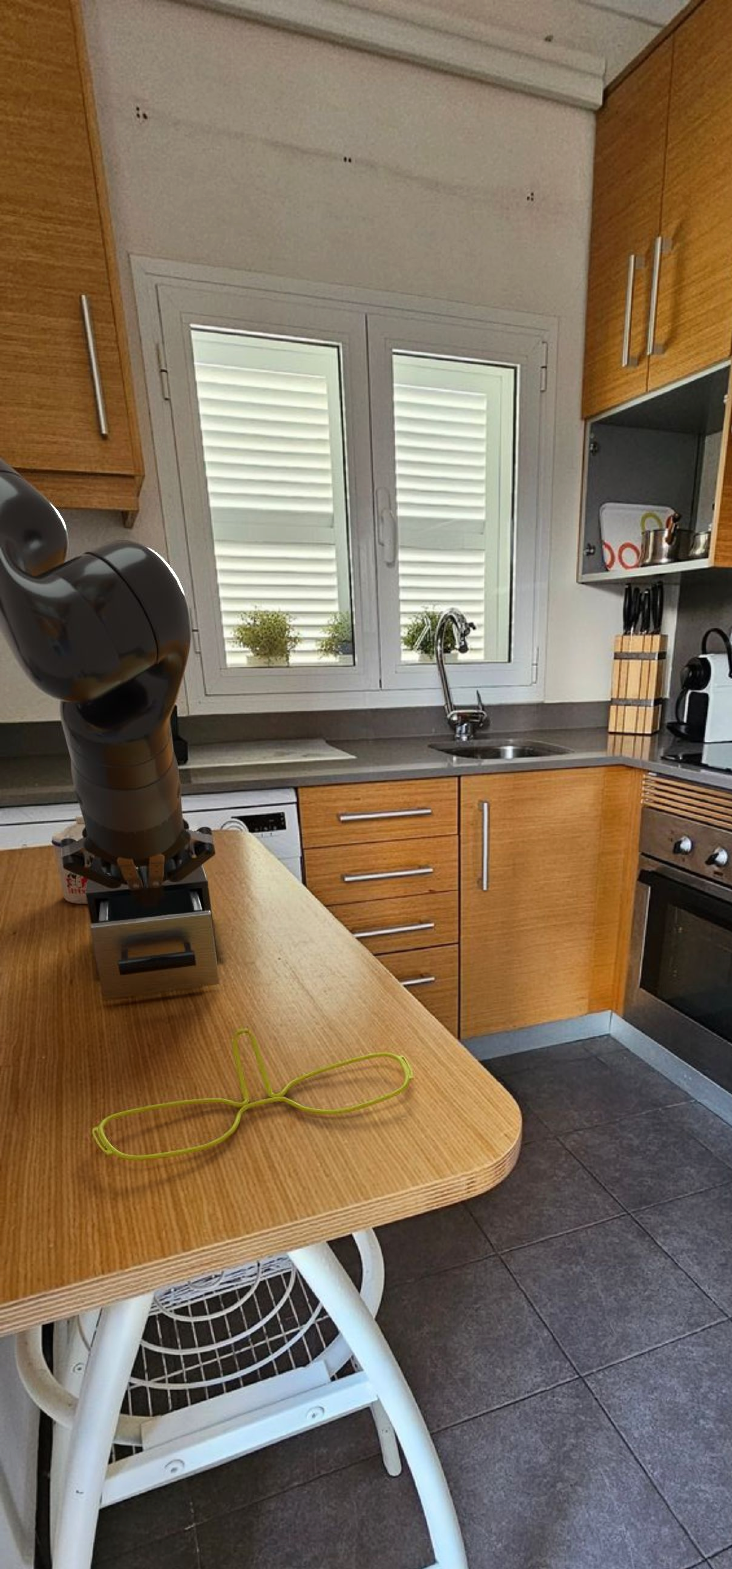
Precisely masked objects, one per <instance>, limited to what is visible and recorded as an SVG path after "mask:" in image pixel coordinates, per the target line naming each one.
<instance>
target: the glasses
mask: <svg viewBox="0 0 732 1569" xmlns="http://www.w3.org/2000/svg"><path fill="white" fill-rule="evenodd" d="M242 1034H248V1035H249V1038H250V1041H251V1045H252V1048H253V1052H254V1055H255V1058H256V1062H257V1066H258V1069H259V1071H260V1075H261V1078H262V1081H263V1084H264V1087H265V1091H266V1093H267V1095H268V1097H270V1098H264V1099H260V1100H257V1101H254V1102H251V1103H250V1097H249V1092H248V1088H247V1084H246V1081H245V1076H244V1072H243V1068H242V1063H241V1058H240V1052H239V1047H238V1046H239V1045H238V1036H240V1035H242ZM232 1053H233V1058H234V1063H235V1068H236V1072H237V1078H238V1081H239V1086H240V1091H241V1094H242V1098H243V1101H240V1102H238V1101H233V1100H230V1099H226V1098H221V1097H219V1098H218V1097H212V1098H195V1099H185V1100H179V1101H170V1102H163V1103H160V1104H159V1103H158V1104H151V1105H146V1106H142V1107H137V1108H133V1109H129V1110H124V1111H121V1112H116V1113H114V1114H111V1115H109V1116H106V1117H105V1118H103V1120H102V1121H100V1123H99V1125H98V1126H96V1127H93V1128H92V1129H91V1132H92V1136H93V1138H94V1141H95V1143H96V1144H97V1146H98V1147H99V1149H100V1150H101V1151H102V1152H103V1153H104V1154H105V1155H107V1156H111V1155H114V1156H115V1157H117V1158H119V1159H122V1160H126V1161H133V1162H135V1161H136V1162H137V1161H138V1162H139V1161H150V1160H159V1159H164V1158H171V1157H177V1156H183V1155H188V1154H192V1153H196V1152H200V1151H201V1152H202V1151H205V1150H207V1149H210V1148H212V1147H215V1146H216V1145H219V1144H221V1143H222V1142H224V1141H225V1140H227V1139H228V1138H230V1137H231V1136H232V1134H234V1132H236V1130H237V1128H238V1126H239V1125H240V1122H241V1118H242V1116H243V1113H244V1112H245V1111H246V1110H249V1109H252V1108H255V1107H259V1106H262V1105H267V1104H271V1103H277V1102H285V1103H287V1104H288V1105H290V1106H292V1107H294V1108H296V1109H298V1110H300V1111H303V1112H306V1113H308V1114H315V1115H330V1116H331V1115H340V1114H341V1115H342V1114H347V1113H351V1112H354V1111H358V1110H362V1109H365V1108H368V1107H370V1106H374V1105H376V1104H379V1103H381V1102H384V1101H387V1100H389V1099H392V1098H394V1097H396V1096H398V1095H400V1094H401V1093H403V1092H404V1091H405V1090H406V1089H407V1088H408V1086H409V1085H410V1081H412V1080H414V1071H413V1068H412V1066H411V1064H410V1062H409V1061H408V1059H407V1058H406V1057H405V1056H404V1055H403V1054H402V1055H397V1054H394V1053H391V1052H375V1053H370V1054H366V1055H361V1056H358V1057H354V1058H349V1059H345V1060H343V1061H340V1062H337V1063H333V1064H330V1065H326V1066H323V1067H320V1068H319V1069H316V1070H313V1071H310V1072H308V1073H305V1074H303V1075H301V1076H299V1077H297V1078H295V1079H292V1080H291V1081H290V1082H289V1083H287V1084H286V1085H285V1086H284V1087H283V1089H282V1090H281V1091H280V1092H279V1093H274V1092H273V1090H272V1086H271V1083H270V1080H269V1078H268V1075H267V1072H266V1068H265V1066H264V1061H263V1059H262V1056H261V1051H260V1049H259V1044H258V1042H257V1040H256V1038H255V1036H254V1034H253V1032H252V1031H250V1029H248V1028H240V1029H238V1030H236V1031H235V1033H234V1036H233V1037H232ZM375 1058H391V1059H393V1060H396V1062H398V1063H399V1065H400V1067H401V1069H402V1071H403V1074H404V1082H403V1084H402V1086H400V1087H399V1088H397V1089H395V1090H393V1091H392V1092H390V1093H388V1094H384V1095H383V1096H380V1097H377V1098H374V1099H372V1100H371V1099H370V1100H369V1101H366V1102H363V1103H360V1104H356V1105H353V1106H349V1107H345V1108H337V1109H318V1108H312V1107H307V1106H304V1105H303V1104H300V1103H299V1102H296V1101H294V1100H292V1099H290V1098H287V1097H286V1096H285V1095H286V1094H287V1092H288V1091H289V1090H290V1088H291V1087H293V1086H294V1085H296V1084H298V1083H301V1082H302V1081H305V1080H307V1079H309V1078H311V1077H314V1076H317V1075H319V1074H322V1073H325V1072H327V1071H330V1070H334V1069H337V1068H340V1067H343V1066H346V1065H349V1064H355V1063H358V1062H362V1061H364V1060H365V1061H367V1060H370V1059H375ZM410 1073H411V1074H410ZM198 1104H225V1105H229V1106H232V1107H234V1108H240V1109H239V1110H238V1111H237V1113H236V1116H235V1120H234V1123H233V1125H232V1126H231V1127H230V1129H228V1131H226V1132H225V1133H224V1134H222V1135H220V1136H219V1137H218V1138H216V1139H214V1140H212V1141H210V1142H207V1143H204V1144H201V1145H197V1146H194V1147H189V1148H183V1149H178V1150H173V1151H168V1152H167V1151H166V1152H159V1153H153V1154H144V1155H143V1154H142V1155H141V1154H140V1155H138V1154H137V1155H136V1154H135V1155H133V1154H126V1153H123V1152H121V1151H119V1150H118V1149H116V1148H115V1147H114V1146H113V1145H112V1144H111V1143H110V1141H109V1140H108V1138H107V1136H106V1135H105V1132H104V1127H105V1126H106V1125H107V1123H109V1122H111V1121H113V1120H116V1119H120V1118H122V1117H126V1116H130V1115H135V1114H139V1113H144V1112H148V1111H154V1110H161V1109H166V1108H173V1107H179V1106H180V1107H181V1106H187V1105H198ZM96 1133H97V1135H96ZM98 1138H99V1139H98ZM102 1145H103V1146H104V1147H103V1146H102Z"/></svg>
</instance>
